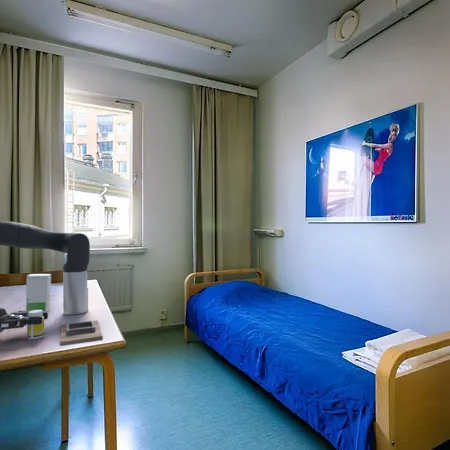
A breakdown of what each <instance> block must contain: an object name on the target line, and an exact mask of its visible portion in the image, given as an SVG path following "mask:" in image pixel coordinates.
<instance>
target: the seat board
mask: <svg viewBox="0 0 450 450" xmlns="http://www.w3.org/2000/svg"><path fill="white" fill-rule="evenodd" d="M98 321H99V320H97V319H96V320H87V321H79V322H77V321H76V322H70V323H63V324H60V325H61V326H60V342H59V344H60V345H59V346H63V345H71V344H76V343H78V344H79V343H83V342H84V343H85V342H90V341H92V342H93V341H98V340H103V333H102V331H101V327H100V325H99V322H98Z"/></svg>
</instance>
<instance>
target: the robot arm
mask: <svg viewBox="0 0 450 450" xmlns="http://www.w3.org/2000/svg"><path fill="white" fill-rule="evenodd" d="M0 246H5V247H11V248H18V249H29V250H30V249H31V250H45V249H46V250H50V251H57V252H59V253H65V254H66V257H67V258H66V262H65V263H64V264H63V266H62V270H63V271H62V274H63V276H62V278H63V279H62V287H63V288H62V290H63V292H62V296H63V297H62V301H63V302H62V304H63V305H62V308H63V309H62V310H63V311H62V313H63V315H67V316H69V315H70V316H71V315H72V316H73V315H82V314H85V313H88V310H89V288H88V266H89V263H90V254H91V253H90V252H91V251H90V249H91V247H90V246H91V244H90V239H89V238H88V236H87V235H86V234H85V233H82V232H58V231H50V230H47V229H44V228H41V227H39V226H36V225H32V224H28V223H22V222H17V221H9V220H7V221H5V220H0ZM28 314H29V311H26V310H18V311H13V312H10V313H8V312H7V310H6V309H5V308H2V307H0V333H2V332H3V331H4V330H12V329H20V328H22V329H23V328H24V327H27V325H32V324H41V323H42V317H41V316H40V317H29V316H28ZM42 316H44V321H45V320H47V319H48V318H49V313H48V311H47V312H43V315H42Z"/></svg>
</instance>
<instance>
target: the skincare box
mask: <svg viewBox="0 0 450 450" xmlns="http://www.w3.org/2000/svg"><path fill="white" fill-rule="evenodd" d="M51 283H52V273H30V274H27V276H26V288H25V289H26V290H25V292H26V293H25V295H26V296H25V311H32V310H43V312H47V313H48V312H49V311H50V309H51V291H52V290H51V289H52V288H51V286H52V284H51Z"/></svg>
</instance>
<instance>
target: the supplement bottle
mask: <svg viewBox="0 0 450 450" xmlns="http://www.w3.org/2000/svg"><path fill="white" fill-rule="evenodd" d="M42 315H43V310H32V311H29V314H28V316H29V317H40V316H41V317H42V323H41V324H32V325H27V326H26V332H27V334H26V335H27V336H26V337H27V340H36V339H37V340H38V339H41V338H43V337H45V320H44V316H42Z"/></svg>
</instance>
